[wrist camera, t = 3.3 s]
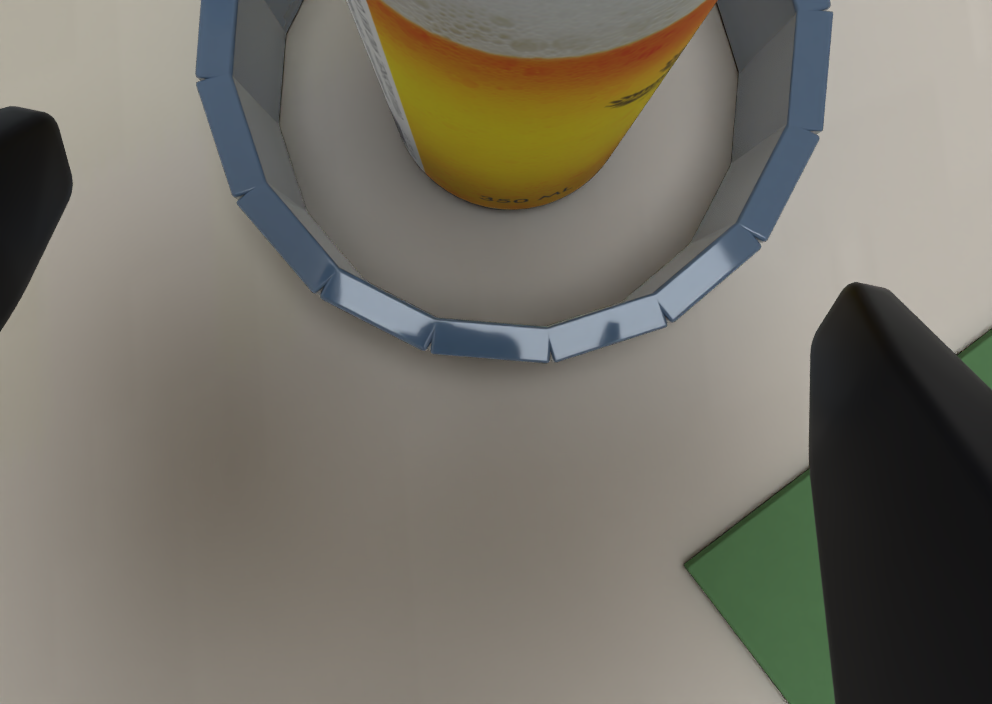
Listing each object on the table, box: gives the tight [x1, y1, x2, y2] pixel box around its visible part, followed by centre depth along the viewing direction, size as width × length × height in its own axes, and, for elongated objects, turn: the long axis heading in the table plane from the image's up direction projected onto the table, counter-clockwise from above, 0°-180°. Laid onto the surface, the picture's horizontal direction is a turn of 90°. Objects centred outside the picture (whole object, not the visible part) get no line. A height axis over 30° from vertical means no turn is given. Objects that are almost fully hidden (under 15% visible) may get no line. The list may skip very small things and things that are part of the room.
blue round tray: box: [195, 0, 833, 363], centre depth 19 cm, size 14×14×4 cm
